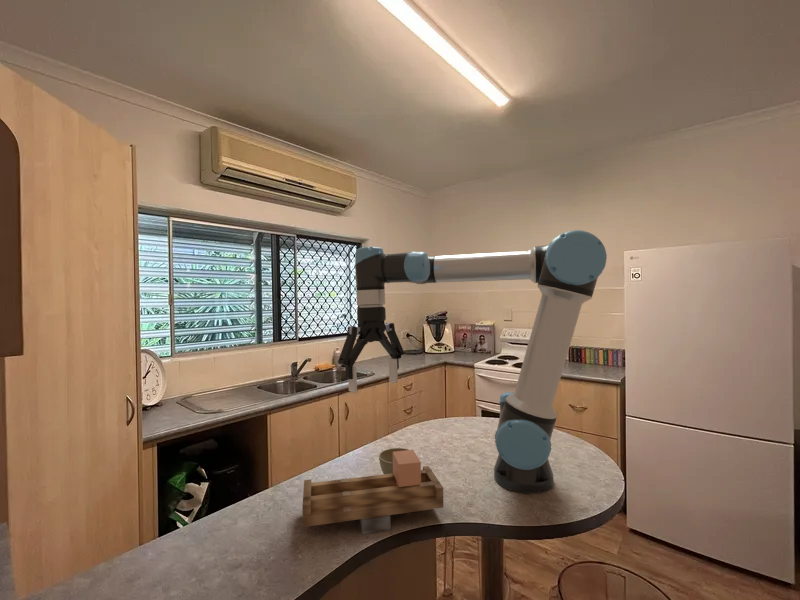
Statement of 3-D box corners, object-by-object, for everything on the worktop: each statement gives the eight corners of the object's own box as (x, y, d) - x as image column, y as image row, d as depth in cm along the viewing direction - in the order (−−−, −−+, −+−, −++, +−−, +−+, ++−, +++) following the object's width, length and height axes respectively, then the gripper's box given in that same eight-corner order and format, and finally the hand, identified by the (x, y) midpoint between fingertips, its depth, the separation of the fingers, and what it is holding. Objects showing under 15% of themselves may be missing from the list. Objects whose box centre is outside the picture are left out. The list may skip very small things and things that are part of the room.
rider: (413, 480, 91) (412, 449, 91) (421, 495, 85) (420, 462, 84) (393, 482, 90) (392, 451, 90) (399, 497, 83) (398, 464, 83)
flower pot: (413, 492, 96) (412, 464, 96) (374, 489, 98) (374, 461, 98) (419, 474, 106) (418, 448, 106) (384, 471, 108) (383, 446, 108)
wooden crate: (428, 494, 95) (428, 464, 95) (444, 522, 83) (444, 488, 83) (304, 510, 88) (304, 478, 88) (303, 543, 77) (302, 506, 77)
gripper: (397, 304, 111) (399, 377, 112) (322, 308, 95) (325, 393, 95) (414, 304, 106) (417, 380, 106) (338, 308, 89) (342, 398, 89)
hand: (374, 386), depth 100 cm, fingers open, 13 cm apart
